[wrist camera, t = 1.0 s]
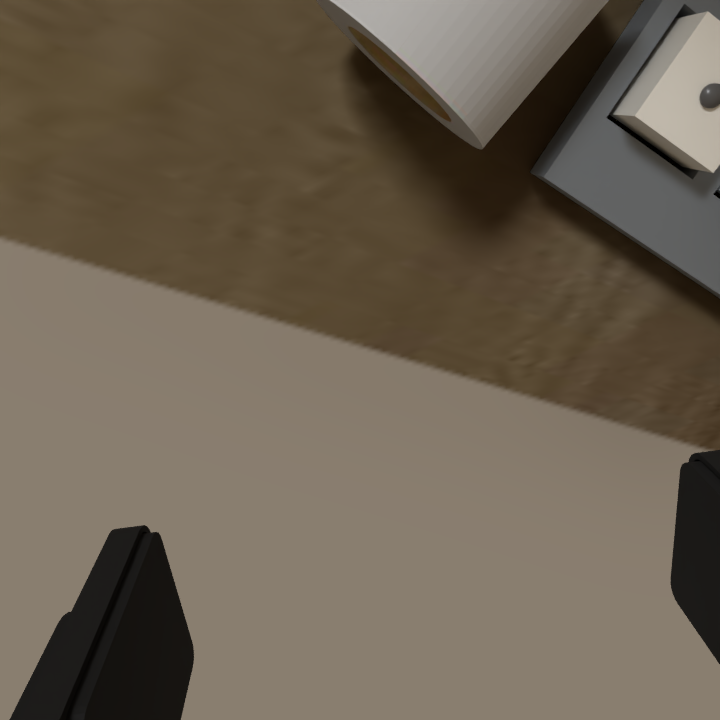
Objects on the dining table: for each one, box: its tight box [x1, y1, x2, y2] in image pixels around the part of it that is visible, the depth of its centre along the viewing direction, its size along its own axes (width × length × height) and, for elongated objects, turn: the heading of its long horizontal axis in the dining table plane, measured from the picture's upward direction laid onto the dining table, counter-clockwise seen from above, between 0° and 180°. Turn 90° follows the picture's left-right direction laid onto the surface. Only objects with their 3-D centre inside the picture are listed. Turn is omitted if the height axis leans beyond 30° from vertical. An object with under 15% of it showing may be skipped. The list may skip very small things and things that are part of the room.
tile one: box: [609, 11, 720, 173], centre depth 32 cm, size 5×5×3 cm
